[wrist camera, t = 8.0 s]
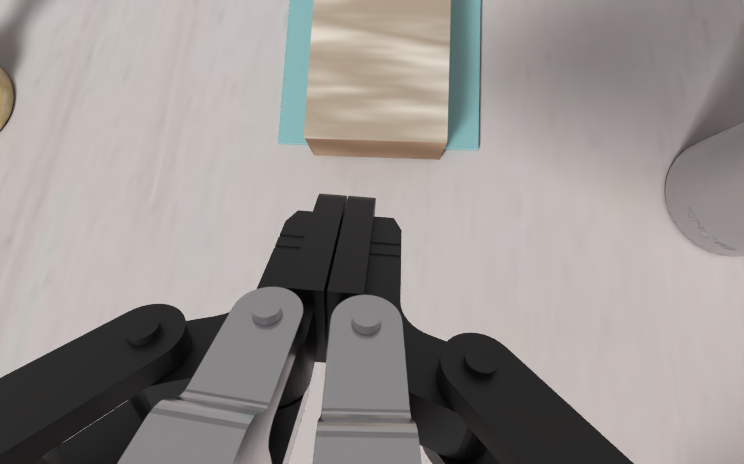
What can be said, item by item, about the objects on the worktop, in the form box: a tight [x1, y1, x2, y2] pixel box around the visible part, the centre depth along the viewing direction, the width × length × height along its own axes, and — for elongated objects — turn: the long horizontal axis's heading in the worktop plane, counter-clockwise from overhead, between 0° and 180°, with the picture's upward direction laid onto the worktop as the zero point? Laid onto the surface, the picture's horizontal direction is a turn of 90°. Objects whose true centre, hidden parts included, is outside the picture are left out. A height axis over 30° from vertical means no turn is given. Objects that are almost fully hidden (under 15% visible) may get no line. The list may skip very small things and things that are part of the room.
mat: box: [278, 0, 481, 150], centre depth 33 cm, size 22×16×1 cm
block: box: [304, 0, 451, 159], centre depth 30 cm, size 4×10×16 cm
